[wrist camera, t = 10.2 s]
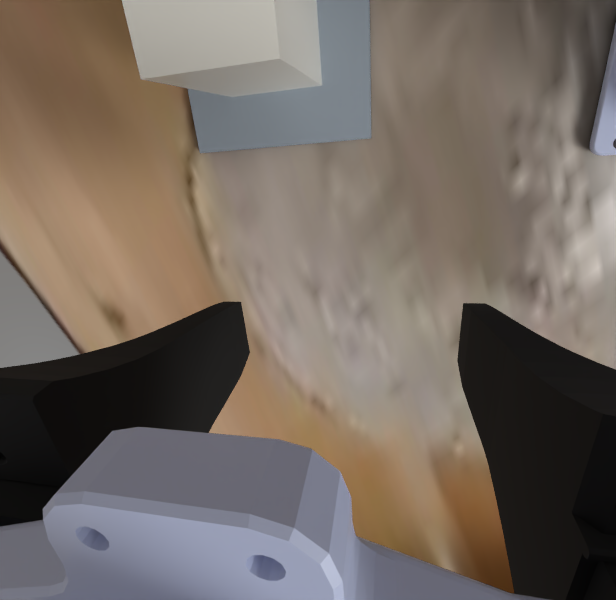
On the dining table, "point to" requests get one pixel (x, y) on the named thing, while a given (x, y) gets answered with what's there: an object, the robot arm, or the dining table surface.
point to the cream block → (226, 44)
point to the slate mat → (300, 94)
